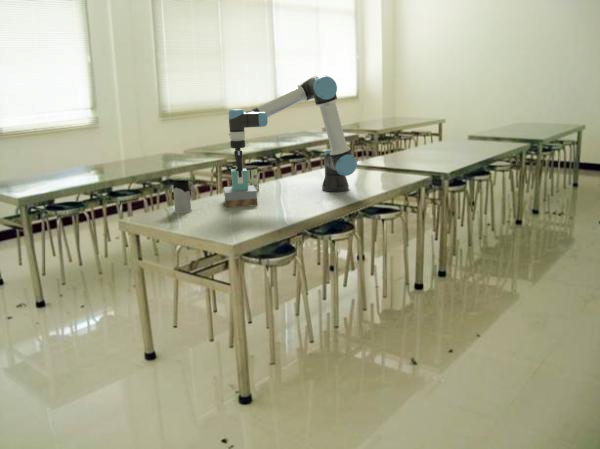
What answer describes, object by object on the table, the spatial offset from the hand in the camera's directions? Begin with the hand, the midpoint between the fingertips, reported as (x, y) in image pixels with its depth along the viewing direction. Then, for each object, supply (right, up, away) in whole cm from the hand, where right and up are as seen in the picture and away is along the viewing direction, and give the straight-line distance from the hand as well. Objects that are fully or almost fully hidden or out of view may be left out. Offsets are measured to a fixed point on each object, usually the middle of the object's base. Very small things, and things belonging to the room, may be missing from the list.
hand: (239, 181), depth 306 cm
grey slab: (0, -8, +2) cm, 8 cm away
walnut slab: (0, -12, +3) cm, 12 cm away
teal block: (0, -4, +1) cm, 4 cm away
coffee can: (+2, -3, +35) cm, 35 cm away
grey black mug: (-26, -15, -9) cm, 32 cm away
